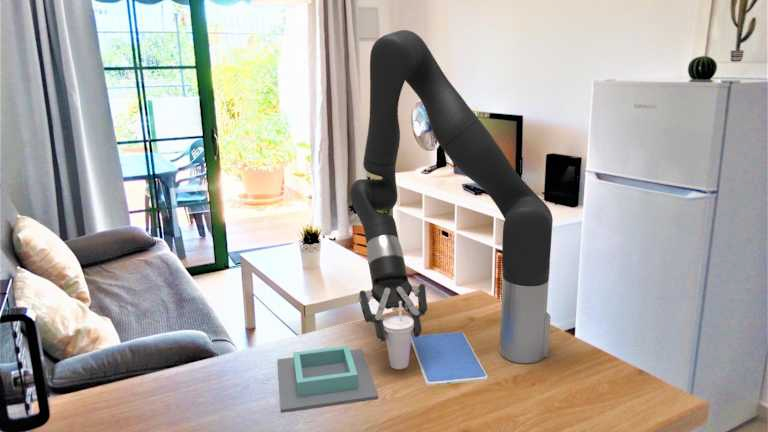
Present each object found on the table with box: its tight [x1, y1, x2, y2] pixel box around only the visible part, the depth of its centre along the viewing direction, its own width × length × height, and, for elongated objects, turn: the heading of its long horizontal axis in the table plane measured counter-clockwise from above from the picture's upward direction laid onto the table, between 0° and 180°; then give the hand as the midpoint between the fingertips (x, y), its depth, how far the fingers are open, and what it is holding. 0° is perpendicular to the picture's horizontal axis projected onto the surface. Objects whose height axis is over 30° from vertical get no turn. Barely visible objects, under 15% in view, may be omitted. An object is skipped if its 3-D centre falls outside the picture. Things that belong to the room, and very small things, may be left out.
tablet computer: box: [411, 331, 489, 386], centre depth 121 cm, size 19×13×1 cm, turn 8°
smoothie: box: [383, 301, 414, 370], centre depth 115 cm, size 6×6×14 cm
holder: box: [277, 345, 379, 413], centre depth 114 cm, size 18×18×4 cm
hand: (400, 337), depth 114 cm, fingers closed on smoothie, 6 cm apart
